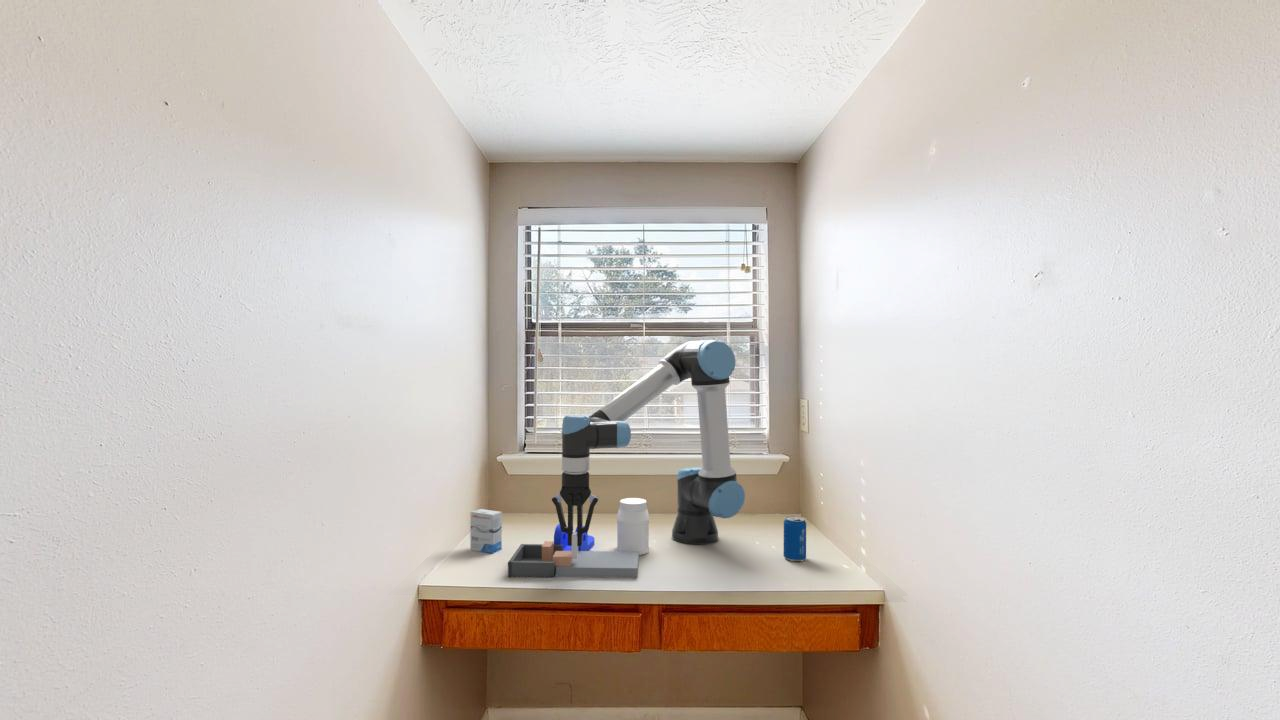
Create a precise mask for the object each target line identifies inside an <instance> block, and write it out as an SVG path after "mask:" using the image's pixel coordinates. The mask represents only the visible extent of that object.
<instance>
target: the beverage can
mask: <svg viewBox="0 0 1280 720" xmlns="http://www.w3.org/2000/svg"><path fill="white" fill-rule="evenodd" d="M805 520H806V519H805V518H804V517H802V516H799V515H787V516H785V518H784V520H783V557H784V558H785V559H786V560H787V561H789V560H790V562H793V561H801V562H803V561H804V560H806V559H807V522H806V521H805ZM802 560H803V561H802Z"/></svg>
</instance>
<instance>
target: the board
mask: <svg viewBox="0 0 1280 720" xmlns="http://www.w3.org/2000/svg"><path fill="white" fill-rule="evenodd" d="M639 556H640V555H639V552H621V551H617V550H616V551H611V550H607V551H606V550H603V551H602V550H600V551H599V550H589V551H578V558H577V559H574V560H573V563H572V565H571V566H556V575H555V577H557V578H558V577H561V578H562V577H564V578H565V577H569V578H570V577H572V578H573V577H575V578H631V577H637V578H638V573H639V558H640V557H639Z"/></svg>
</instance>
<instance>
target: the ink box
mask: <svg viewBox="0 0 1280 720" xmlns="http://www.w3.org/2000/svg"><path fill="white" fill-rule="evenodd" d="M502 512H503V511H499V510H489V509H486V508H485V509H483V508H479V509H476V510H473V511H471V512H470V542H469V543H470V545H469V546H470V547H469V548H470V549H469V550H470V551H475V552H481V553H488V554H494V553H496V552H499V551H500V550H502V546H503V545H502V542H503V541H502V540H503V539H502V538H503V537H502V532H503V531H502V530H503V529H502V528H503V527H502V525H503V523H502V522H503V521H502V520H503V519H502V518H503V517H502V516H503V515H502V514H503V513H502Z"/></svg>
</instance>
